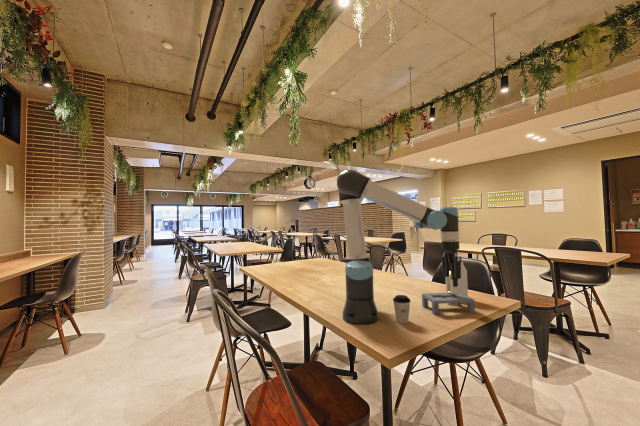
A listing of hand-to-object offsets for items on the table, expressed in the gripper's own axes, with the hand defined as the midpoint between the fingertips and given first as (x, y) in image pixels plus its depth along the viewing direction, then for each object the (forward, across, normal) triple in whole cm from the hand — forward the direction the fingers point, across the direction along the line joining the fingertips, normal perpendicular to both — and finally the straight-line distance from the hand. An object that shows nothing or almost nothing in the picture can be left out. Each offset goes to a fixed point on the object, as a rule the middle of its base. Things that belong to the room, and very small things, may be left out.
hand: (451, 292), depth 123 cm
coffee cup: (+8, -11, +28) cm, 31 cm away
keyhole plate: (+8, 0, +2) cm, 8 cm away
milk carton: (+8, +14, -10) cm, 19 cm away
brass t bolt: (+6, 0, 0) cm, 6 cm away
